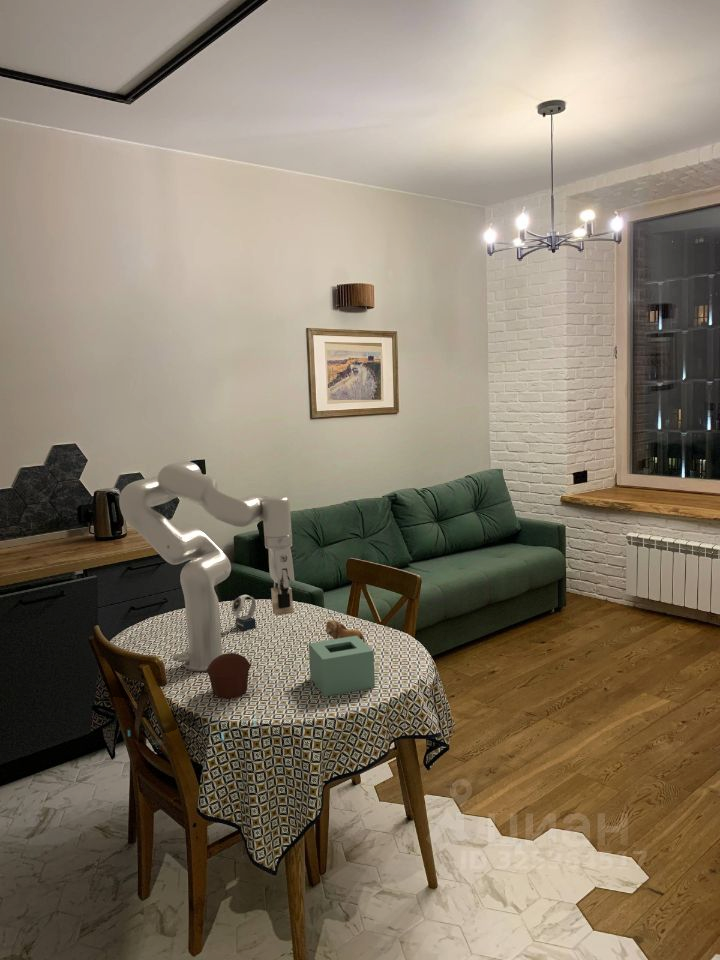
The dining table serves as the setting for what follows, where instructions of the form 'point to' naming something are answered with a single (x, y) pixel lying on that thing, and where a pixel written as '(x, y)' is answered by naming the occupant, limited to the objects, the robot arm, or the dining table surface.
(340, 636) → the lion figurine
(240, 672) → the muffin
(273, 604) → the beige upright block
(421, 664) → the dining table surface
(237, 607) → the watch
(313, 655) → the money box
